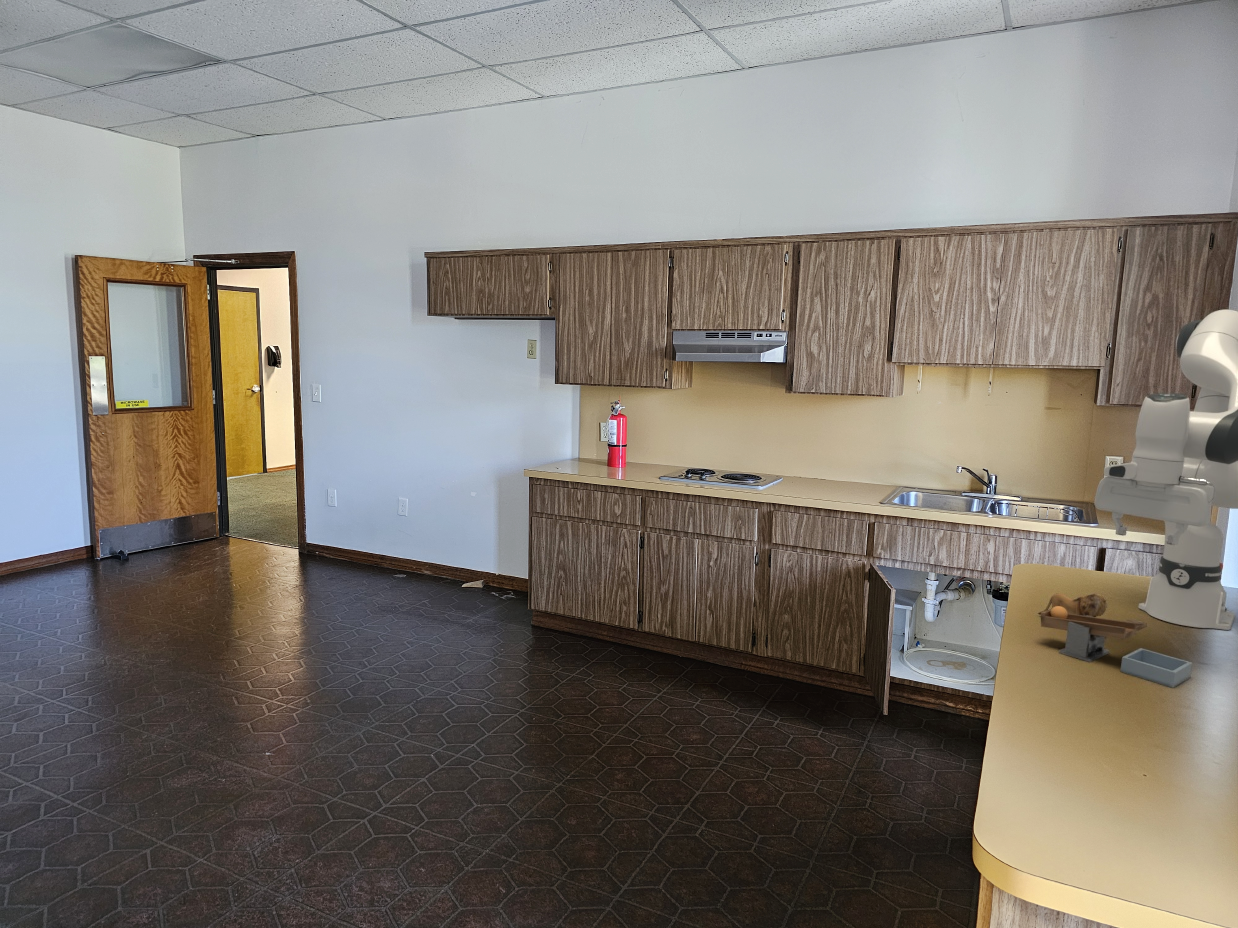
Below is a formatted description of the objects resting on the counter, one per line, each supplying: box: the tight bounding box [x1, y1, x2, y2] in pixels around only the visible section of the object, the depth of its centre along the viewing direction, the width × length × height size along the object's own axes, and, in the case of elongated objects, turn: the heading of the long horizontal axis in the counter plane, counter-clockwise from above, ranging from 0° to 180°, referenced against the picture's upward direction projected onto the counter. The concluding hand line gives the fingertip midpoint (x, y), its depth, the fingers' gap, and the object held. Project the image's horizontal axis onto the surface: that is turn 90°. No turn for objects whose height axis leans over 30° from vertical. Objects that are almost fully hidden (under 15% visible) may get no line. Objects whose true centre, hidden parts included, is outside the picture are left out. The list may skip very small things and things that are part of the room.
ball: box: [1050, 606, 1068, 619], centre depth 171 cm, size 3×3×3 cm
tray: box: [1119, 647, 1193, 689], centre depth 157 cm, size 9×9×3 cm
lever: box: [1040, 608, 1148, 640], centre depth 169 cm, size 13×16×3 cm
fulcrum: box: [1058, 615, 1110, 663], centre depth 167 cm, size 9×6×7 cm, turn 127°
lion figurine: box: [1037, 592, 1109, 618], centre depth 184 cm, size 15×5×9 cm, turn 34°
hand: (1145, 539), depth 165 cm, fingers open, 8 cm apart
